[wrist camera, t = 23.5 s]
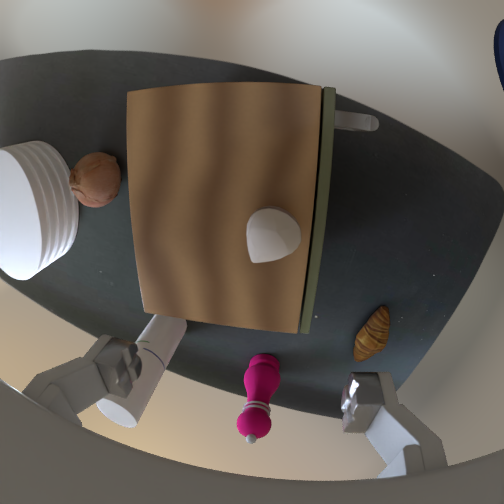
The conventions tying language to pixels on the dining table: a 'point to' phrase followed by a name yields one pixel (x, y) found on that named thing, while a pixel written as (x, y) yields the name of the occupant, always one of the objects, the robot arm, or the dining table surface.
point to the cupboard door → (325, 190)
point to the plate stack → (34, 208)
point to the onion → (95, 179)
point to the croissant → (372, 335)
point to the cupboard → (220, 197)
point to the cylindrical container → (146, 369)
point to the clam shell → (272, 234)
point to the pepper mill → (258, 396)
